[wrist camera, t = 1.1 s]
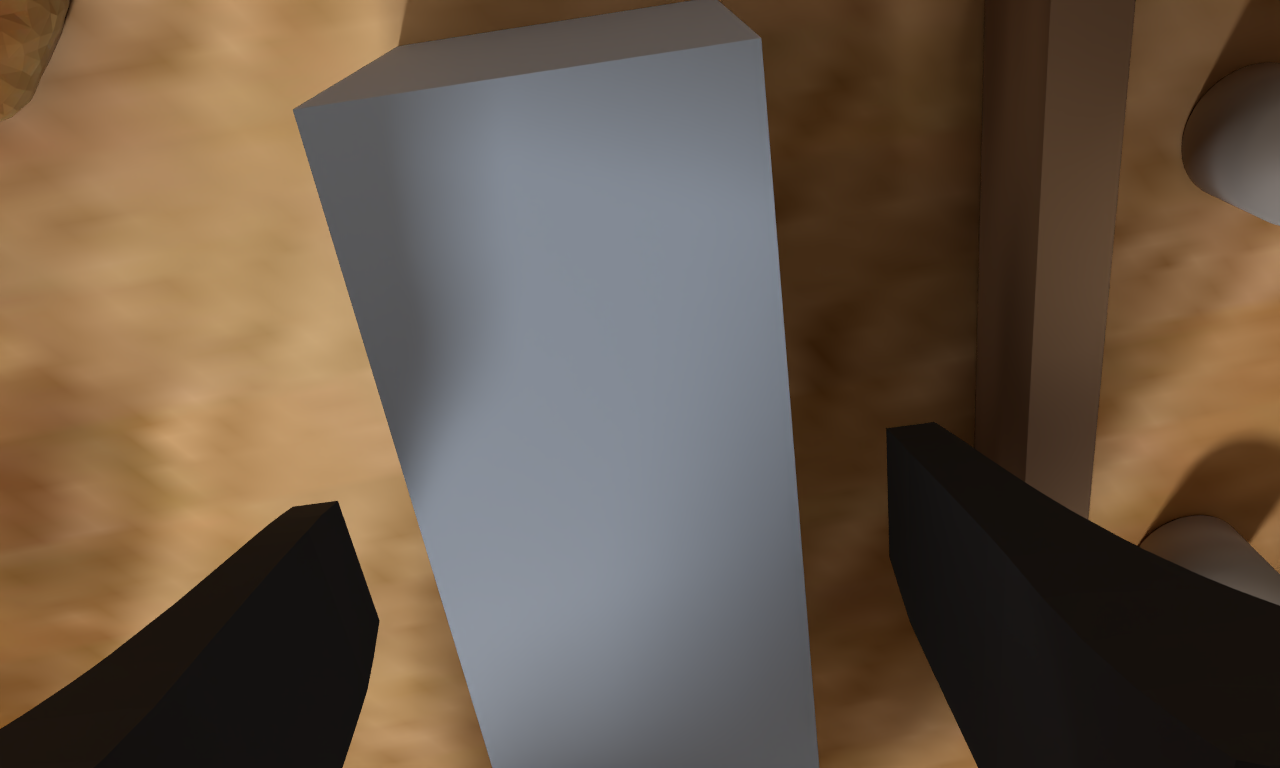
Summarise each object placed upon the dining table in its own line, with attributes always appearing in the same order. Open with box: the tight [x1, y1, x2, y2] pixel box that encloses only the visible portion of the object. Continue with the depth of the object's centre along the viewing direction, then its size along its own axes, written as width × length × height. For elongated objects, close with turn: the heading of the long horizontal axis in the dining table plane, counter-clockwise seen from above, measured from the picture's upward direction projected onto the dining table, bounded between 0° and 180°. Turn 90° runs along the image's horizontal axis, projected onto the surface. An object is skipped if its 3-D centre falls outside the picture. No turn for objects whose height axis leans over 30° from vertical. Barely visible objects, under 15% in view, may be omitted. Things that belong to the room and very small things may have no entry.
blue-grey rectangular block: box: [293, 0, 819, 768], centre depth 14 cm, size 12×4×5 cm, turn 8°
